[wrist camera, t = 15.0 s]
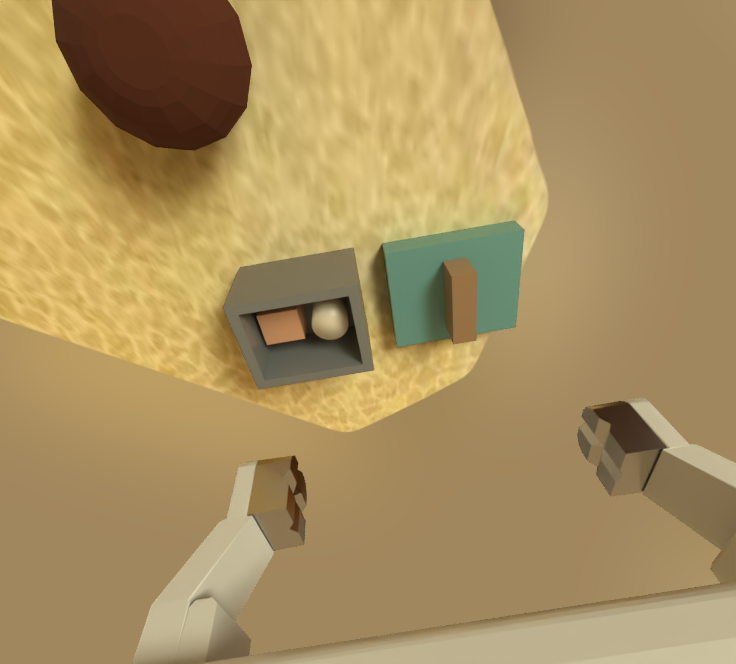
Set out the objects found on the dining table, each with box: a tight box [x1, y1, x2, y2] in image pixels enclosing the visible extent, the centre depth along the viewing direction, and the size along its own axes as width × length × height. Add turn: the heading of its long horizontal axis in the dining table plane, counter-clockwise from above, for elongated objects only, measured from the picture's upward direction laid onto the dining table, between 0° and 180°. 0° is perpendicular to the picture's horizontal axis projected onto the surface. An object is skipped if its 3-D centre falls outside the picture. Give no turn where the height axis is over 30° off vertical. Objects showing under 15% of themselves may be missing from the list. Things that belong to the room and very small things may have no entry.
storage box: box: [223, 248, 374, 390], centre depth 40 cm, size 12×10×8 cm
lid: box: [382, 221, 524, 347], centre depth 41 cm, size 14×12×6 cm
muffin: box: [52, 0, 252, 150], centre depth 26 cm, size 12×11×10 cm
